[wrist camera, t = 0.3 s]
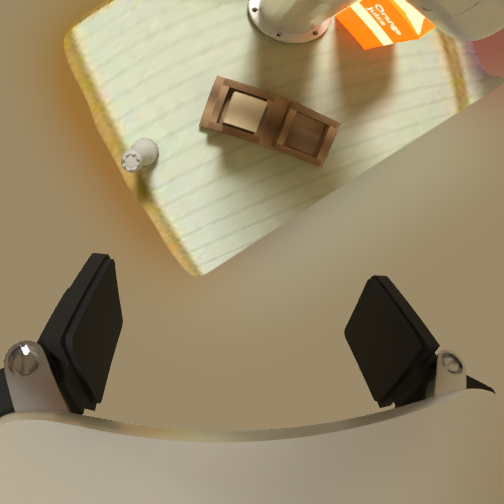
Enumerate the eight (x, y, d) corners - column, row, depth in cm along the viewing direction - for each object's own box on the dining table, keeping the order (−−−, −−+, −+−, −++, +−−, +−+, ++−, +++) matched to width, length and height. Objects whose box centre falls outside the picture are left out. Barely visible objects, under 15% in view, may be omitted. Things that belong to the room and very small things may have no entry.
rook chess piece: (164, 146, 38) (152, 156, 32) (149, 170, 40) (136, 184, 33) (141, 132, 37) (124, 139, 30) (127, 156, 38) (109, 168, 31)
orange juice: (394, 29, 30) (477, 14, 13) (365, 50, 33) (448, 36, 15) (365, -5, 27) (439, -38, 10) (333, 15, 29) (404, -23, 12)
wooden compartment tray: (217, 76, 34) (216, 69, 26) (338, 122, 39) (364, 129, 31) (199, 125, 37) (193, 130, 30) (319, 166, 43) (341, 182, 35)
